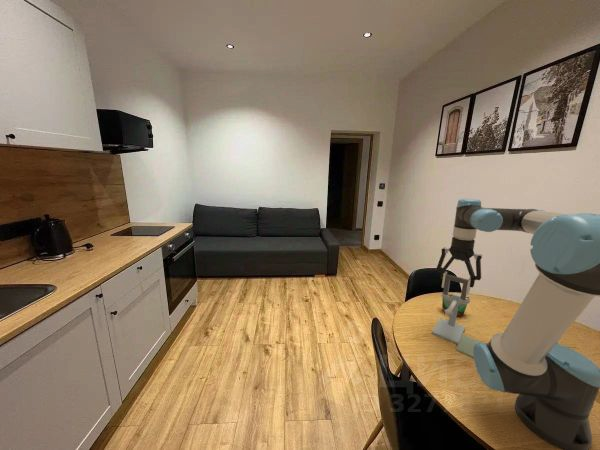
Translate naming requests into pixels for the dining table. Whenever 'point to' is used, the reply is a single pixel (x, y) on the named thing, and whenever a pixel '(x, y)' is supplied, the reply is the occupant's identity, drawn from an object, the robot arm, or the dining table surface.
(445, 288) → the link
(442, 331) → the stand
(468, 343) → the mat
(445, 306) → the food container
